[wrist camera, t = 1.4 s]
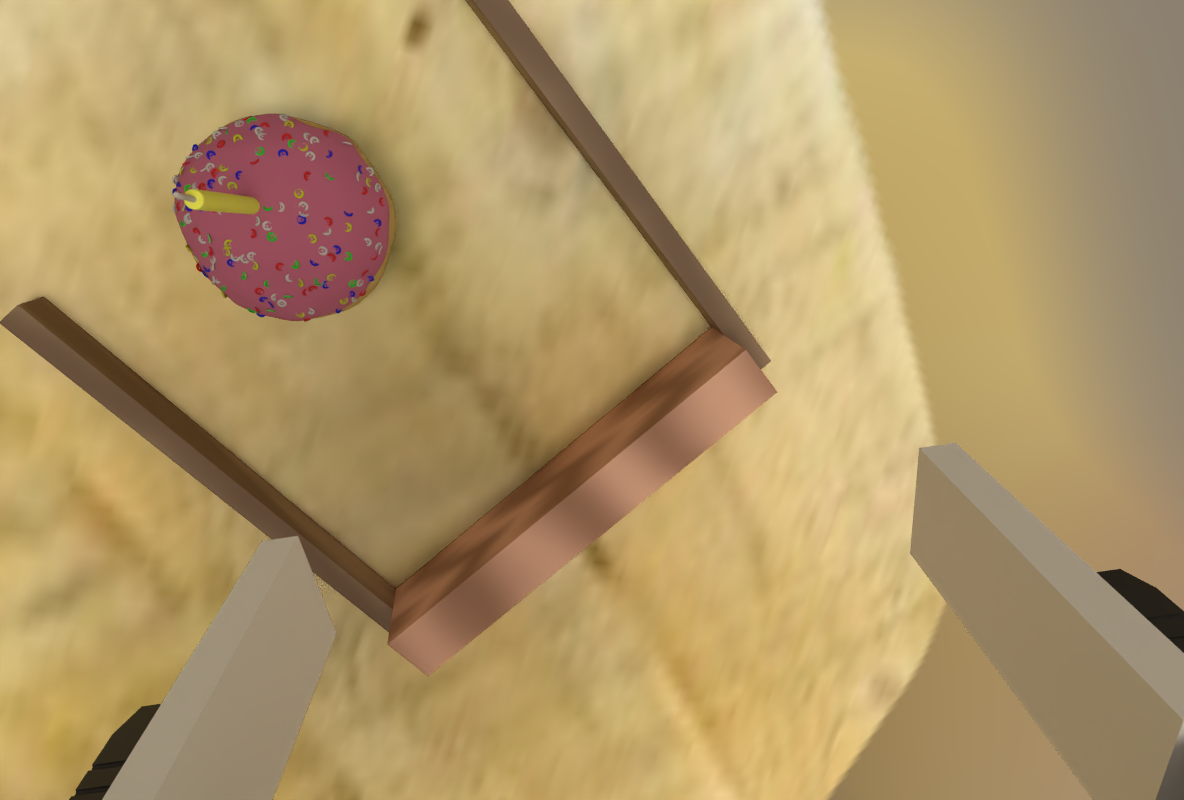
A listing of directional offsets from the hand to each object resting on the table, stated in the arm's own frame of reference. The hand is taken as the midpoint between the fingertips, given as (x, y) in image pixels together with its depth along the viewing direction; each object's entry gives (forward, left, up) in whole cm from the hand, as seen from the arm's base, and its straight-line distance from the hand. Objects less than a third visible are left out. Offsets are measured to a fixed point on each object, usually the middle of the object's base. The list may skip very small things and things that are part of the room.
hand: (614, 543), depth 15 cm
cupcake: (-4, +10, -24) cm, 26 cm away
